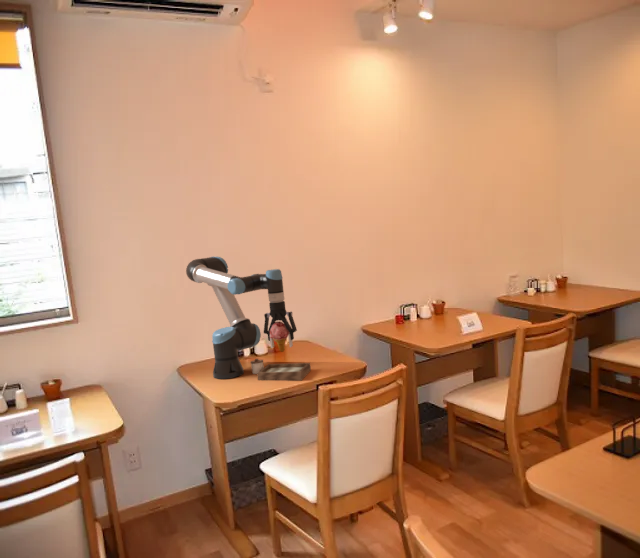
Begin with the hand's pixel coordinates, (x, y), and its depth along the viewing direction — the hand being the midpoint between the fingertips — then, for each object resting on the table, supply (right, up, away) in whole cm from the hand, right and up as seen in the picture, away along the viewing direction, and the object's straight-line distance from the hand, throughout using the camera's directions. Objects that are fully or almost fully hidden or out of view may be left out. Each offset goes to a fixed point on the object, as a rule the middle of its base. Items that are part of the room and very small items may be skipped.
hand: (281, 346), depth 273 cm
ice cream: (+1, -3, 0) cm, 3 cm away
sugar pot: (-12, -15, +10) cm, 22 cm away
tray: (+1, -14, +2) cm, 15 cm away
